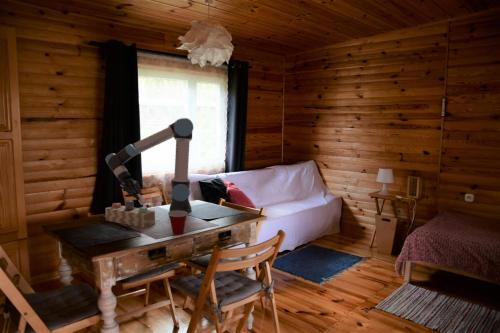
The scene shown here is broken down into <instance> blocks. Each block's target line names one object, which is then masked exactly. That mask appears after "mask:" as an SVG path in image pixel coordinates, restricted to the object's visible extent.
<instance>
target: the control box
mask: <svg viewBox="0 0 500 333" xmlns="http://www.w3.org/2000/svg"><path fill="white" fill-rule="evenodd" d="M139 208H140V207H134V209H133V210H125V205H121V208H117V209H114V208H112V206H108V207H105V221H108V222H112V223H118V224H123V225H127V224H128V225H127V226H132V225H133V227H139V228H146V227H149V226H152V225H155V224H156V211H155V210H151V209H148V212H146V213H139Z"/></svg>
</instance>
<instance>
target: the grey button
mask: <svg viewBox="0 0 500 333" xmlns="http://www.w3.org/2000/svg"><path fill="white" fill-rule="evenodd" d="M124 206H125V210H133V209H134V208H135V206H134V200H124Z"/></svg>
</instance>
